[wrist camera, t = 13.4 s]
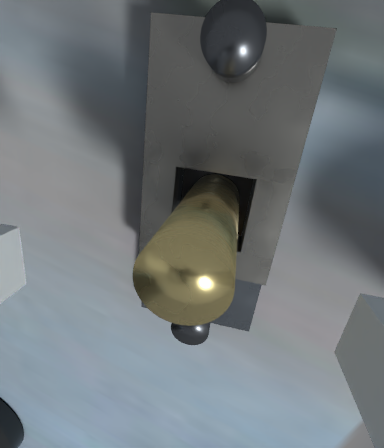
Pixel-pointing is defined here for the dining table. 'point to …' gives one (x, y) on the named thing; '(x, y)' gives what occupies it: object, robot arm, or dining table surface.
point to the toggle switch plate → (230, 126)
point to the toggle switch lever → (193, 256)
